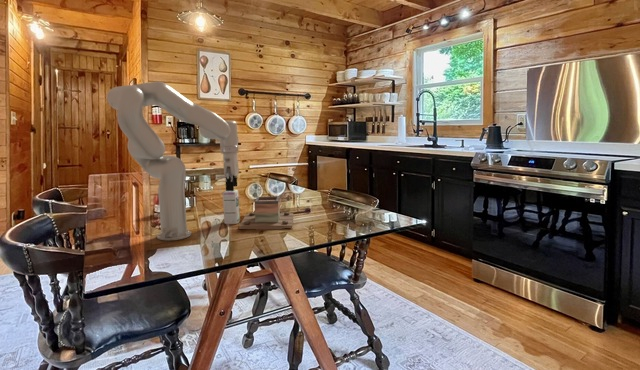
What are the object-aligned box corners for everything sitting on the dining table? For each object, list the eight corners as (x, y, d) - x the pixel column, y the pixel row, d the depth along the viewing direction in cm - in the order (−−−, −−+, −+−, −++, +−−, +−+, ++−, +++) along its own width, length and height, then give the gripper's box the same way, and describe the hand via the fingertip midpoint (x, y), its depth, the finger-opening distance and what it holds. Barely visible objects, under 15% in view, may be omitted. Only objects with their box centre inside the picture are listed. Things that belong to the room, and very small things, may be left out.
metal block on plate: (292, 228, 165) (291, 203, 163) (239, 229, 164) (238, 204, 162) (293, 216, 187) (293, 193, 185) (246, 216, 186) (245, 194, 184)
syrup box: (237, 224, 173) (235, 191, 170) (223, 224, 173) (222, 191, 170) (240, 220, 178) (238, 189, 176) (227, 220, 178) (225, 189, 176)
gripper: (234, 151, 162) (237, 192, 165) (241, 147, 179) (243, 184, 182) (216, 151, 162) (219, 192, 165) (224, 148, 179) (226, 185, 182)
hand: (231, 188), depth 174 cm, fingers open, 9 cm apart
